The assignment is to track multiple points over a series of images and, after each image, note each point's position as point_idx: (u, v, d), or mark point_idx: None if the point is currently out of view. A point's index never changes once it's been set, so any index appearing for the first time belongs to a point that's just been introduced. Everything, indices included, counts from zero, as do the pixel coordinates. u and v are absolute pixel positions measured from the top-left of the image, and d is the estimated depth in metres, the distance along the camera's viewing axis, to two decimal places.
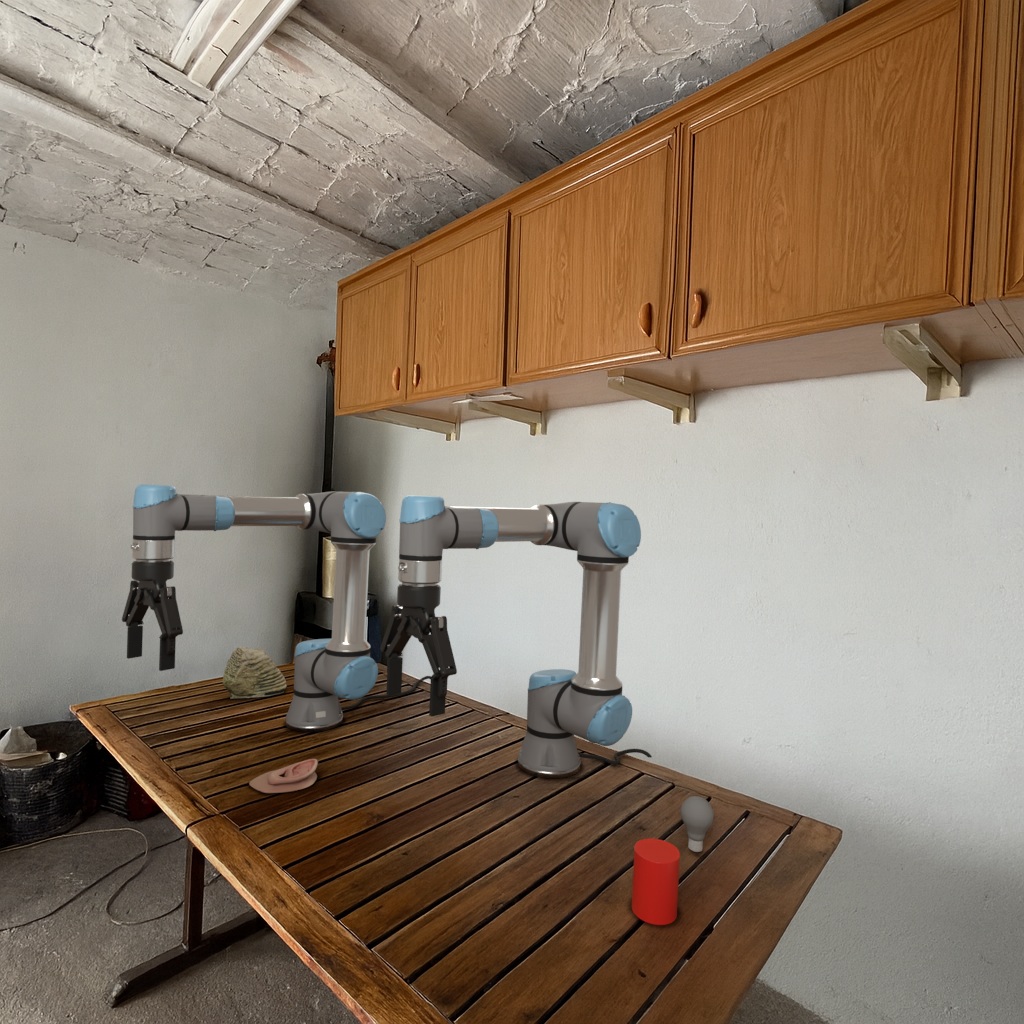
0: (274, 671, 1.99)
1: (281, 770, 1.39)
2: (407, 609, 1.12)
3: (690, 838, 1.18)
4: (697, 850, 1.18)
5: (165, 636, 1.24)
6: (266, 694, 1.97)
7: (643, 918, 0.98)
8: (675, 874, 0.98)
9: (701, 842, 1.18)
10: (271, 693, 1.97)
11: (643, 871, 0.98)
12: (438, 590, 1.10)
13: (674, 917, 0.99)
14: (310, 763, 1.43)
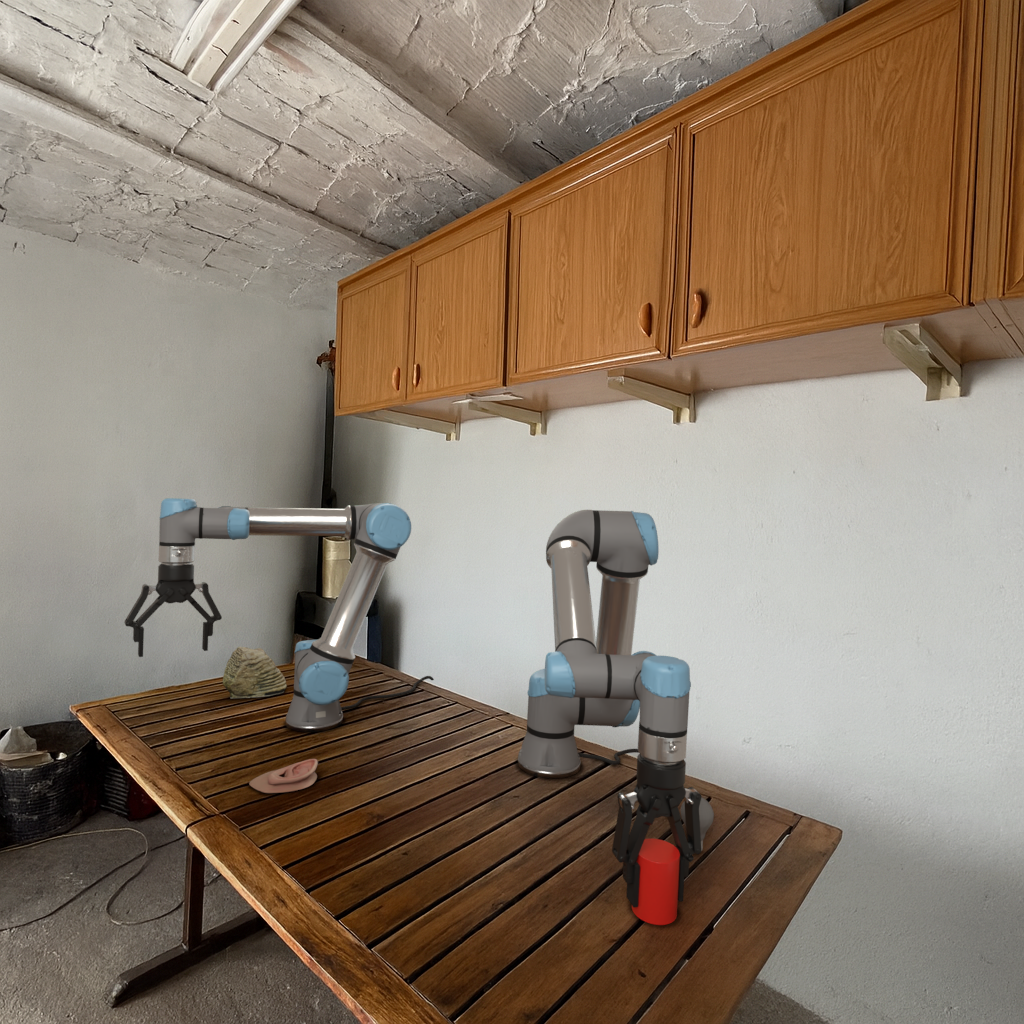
0: (274, 671, 1.99)
1: (281, 770, 1.39)
2: (653, 790, 0.99)
3: None
4: None
5: None
6: (266, 694, 1.97)
7: (643, 918, 0.98)
8: (675, 874, 0.98)
9: (701, 842, 1.18)
10: (271, 693, 1.97)
11: (643, 871, 0.98)
12: None
13: (674, 917, 0.99)
14: (310, 763, 1.43)
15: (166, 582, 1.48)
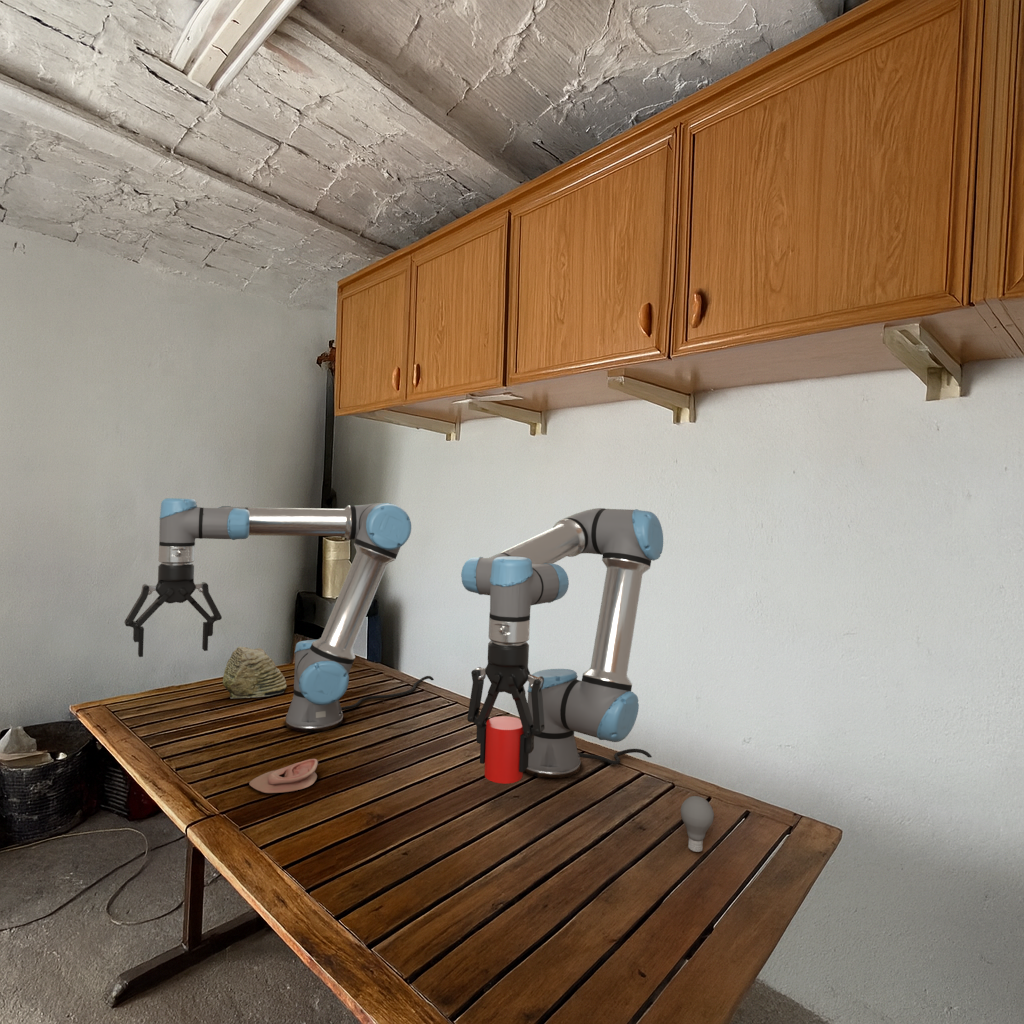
0: (274, 671, 1.99)
1: (281, 770, 1.39)
2: (496, 667, 1.16)
3: (690, 838, 1.18)
4: (697, 850, 1.18)
5: None
6: (266, 694, 1.97)
7: (484, 774, 1.16)
8: (507, 742, 1.13)
9: (701, 842, 1.18)
10: (271, 693, 1.97)
11: (486, 734, 1.16)
12: (528, 646, 1.17)
13: (507, 780, 1.13)
14: (310, 763, 1.43)
15: (166, 582, 1.48)
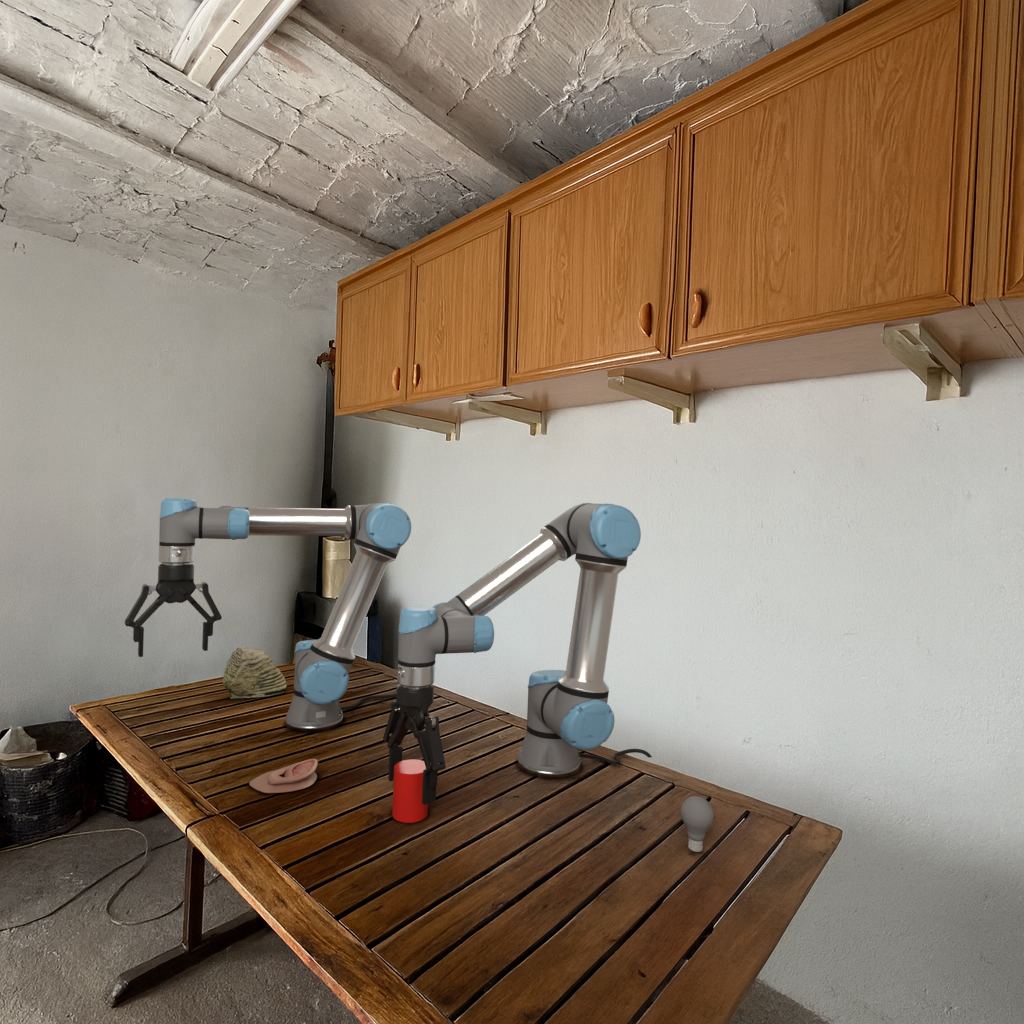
0: (274, 671, 1.99)
1: (281, 770, 1.39)
2: None
3: (690, 838, 1.18)
4: (697, 850, 1.18)
5: None
6: (266, 694, 1.97)
7: None
8: (402, 784, 1.25)
9: (701, 842, 1.18)
10: (271, 693, 1.97)
11: None
12: (432, 691, 1.27)
13: (402, 819, 1.25)
14: (310, 763, 1.43)
15: (166, 582, 1.48)
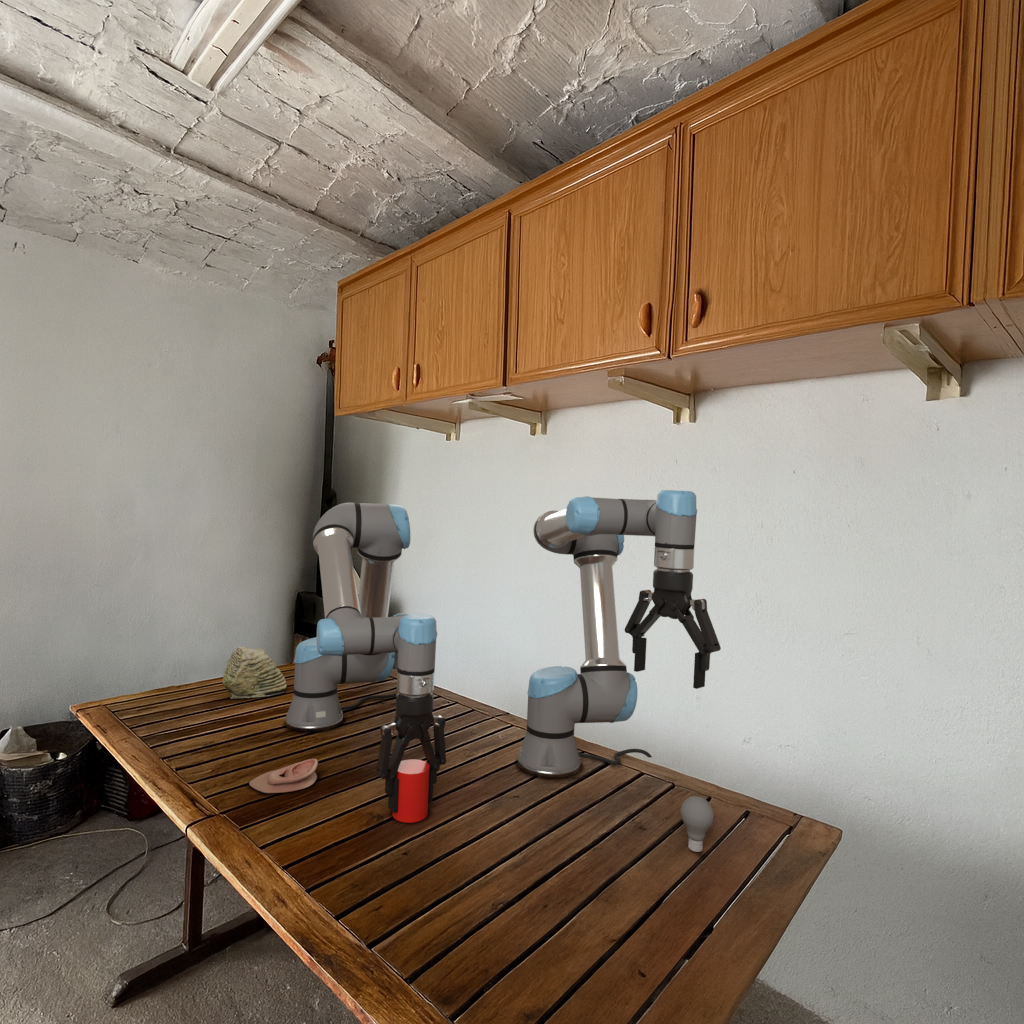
0: (274, 671, 1.99)
1: (281, 770, 1.39)
2: (661, 593, 1.24)
3: (690, 838, 1.18)
4: (697, 850, 1.18)
5: None
6: (266, 694, 1.97)
7: None
8: (403, 784, 1.25)
9: (701, 842, 1.18)
10: (271, 693, 1.97)
11: None
12: None
13: (403, 819, 1.25)
14: (310, 763, 1.43)
15: (407, 716, 1.26)
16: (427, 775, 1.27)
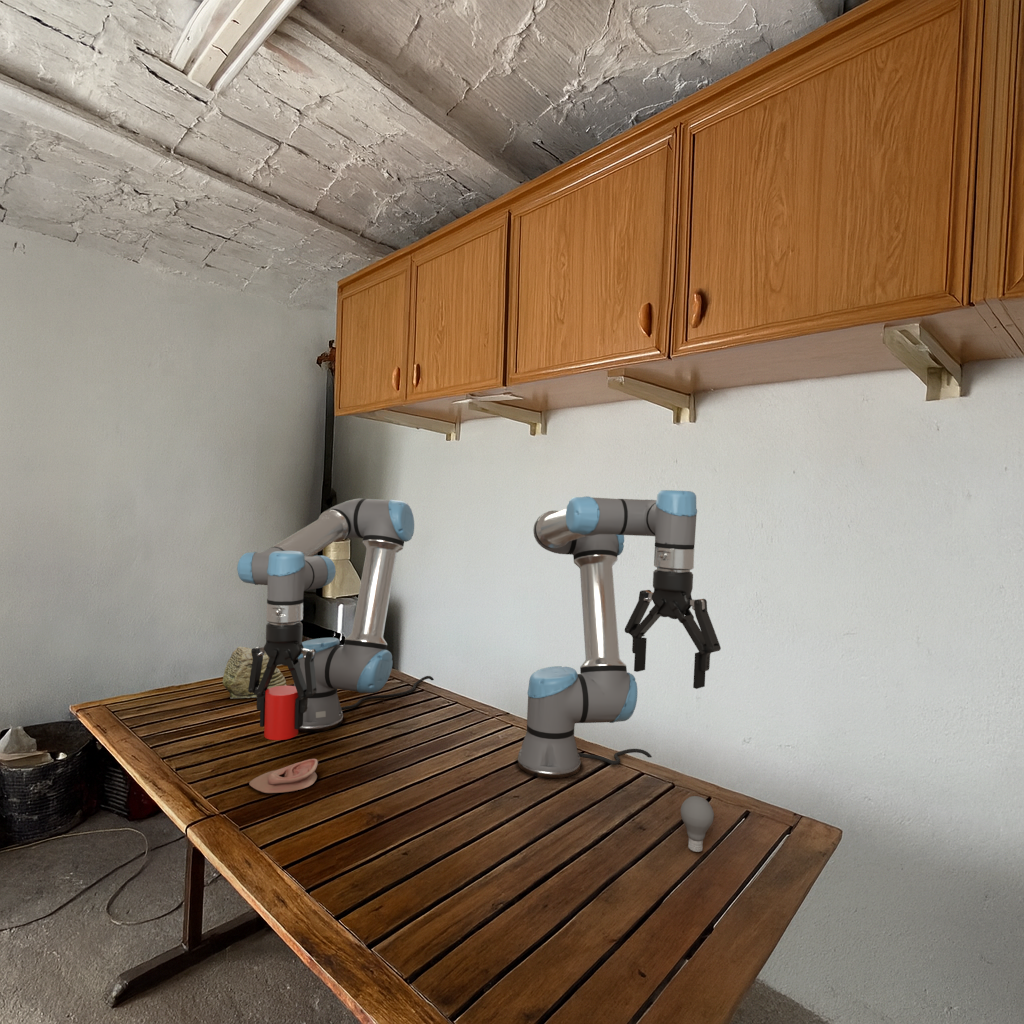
0: (274, 671, 1.99)
1: (281, 770, 1.39)
2: (661, 593, 1.24)
3: (690, 838, 1.18)
4: (697, 850, 1.18)
5: (303, 698, 1.37)
6: None
7: None
8: (265, 702, 1.37)
9: (701, 842, 1.18)
10: None
11: None
12: None
13: (264, 734, 1.37)
14: (310, 763, 1.43)
15: (272, 642, 1.38)
16: (285, 700, 1.36)
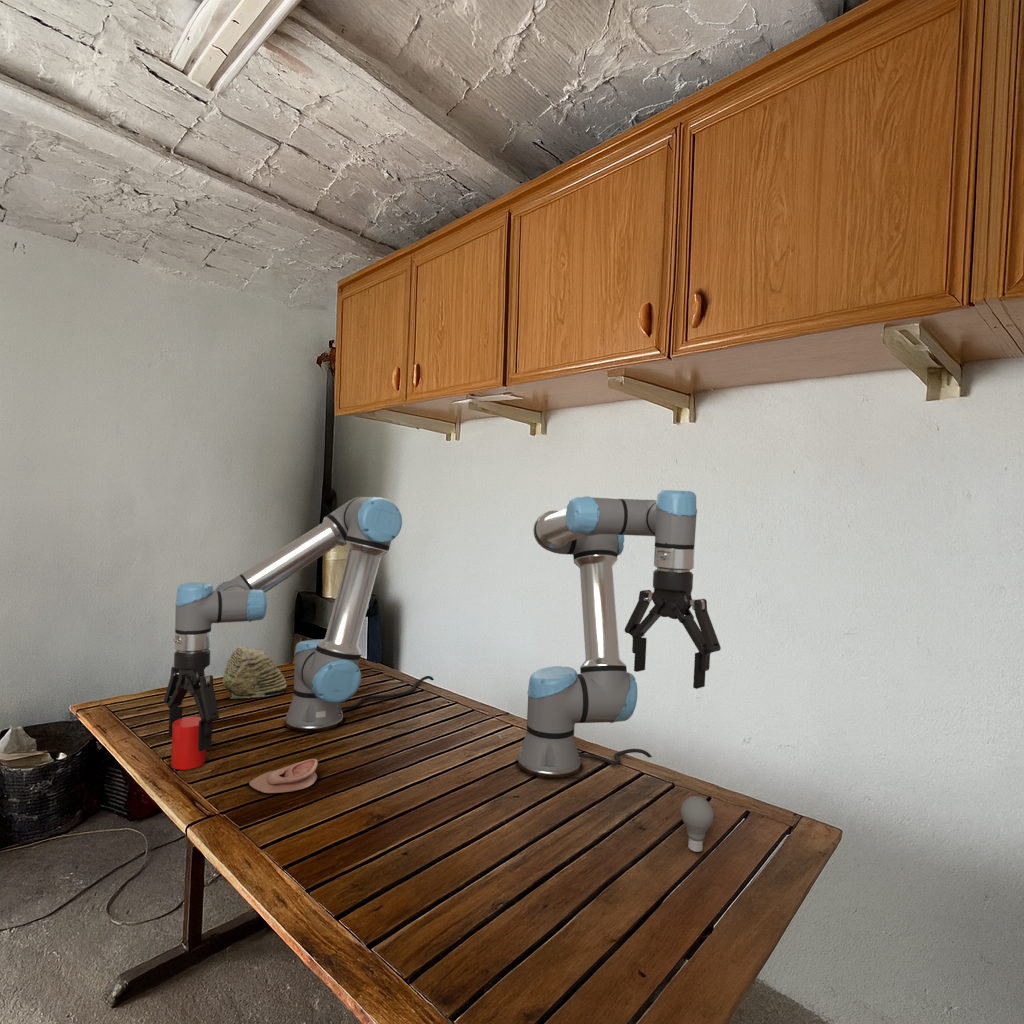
0: (274, 671, 1.99)
1: (281, 770, 1.39)
2: (661, 593, 1.24)
3: (690, 838, 1.18)
4: (697, 850, 1.18)
5: (203, 721, 1.42)
6: (266, 694, 1.97)
7: None
8: None
9: (701, 842, 1.18)
10: (271, 693, 1.97)
11: None
12: None
13: None
14: (310, 763, 1.43)
15: None
16: (181, 732, 1.44)
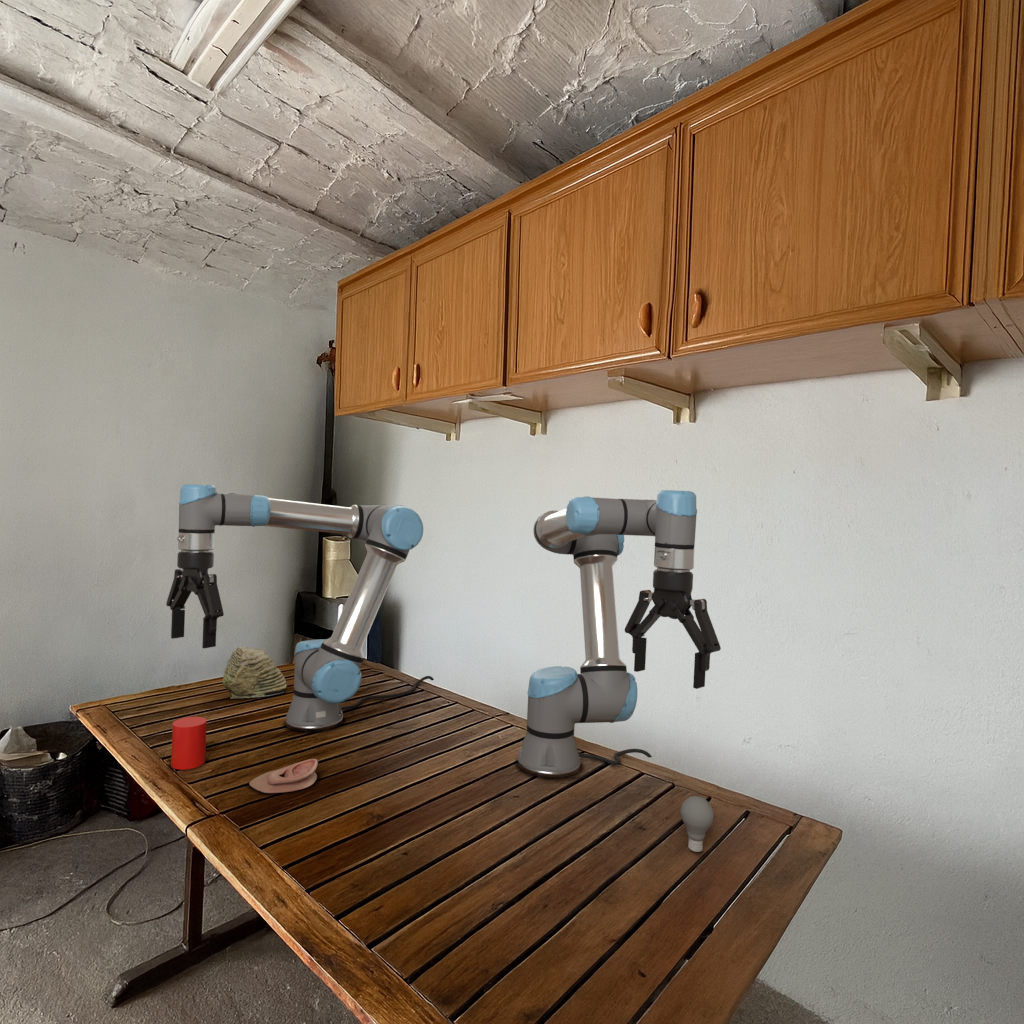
0: (274, 671, 1.99)
1: (281, 770, 1.39)
2: (661, 593, 1.24)
3: (690, 838, 1.18)
4: (697, 850, 1.18)
5: (208, 617, 1.41)
6: (266, 694, 1.97)
7: None
8: None
9: (701, 842, 1.18)
10: (271, 693, 1.97)
11: None
12: None
13: None
14: (310, 763, 1.43)
15: (185, 568, 1.47)
16: (181, 732, 1.44)
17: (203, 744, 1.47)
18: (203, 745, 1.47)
